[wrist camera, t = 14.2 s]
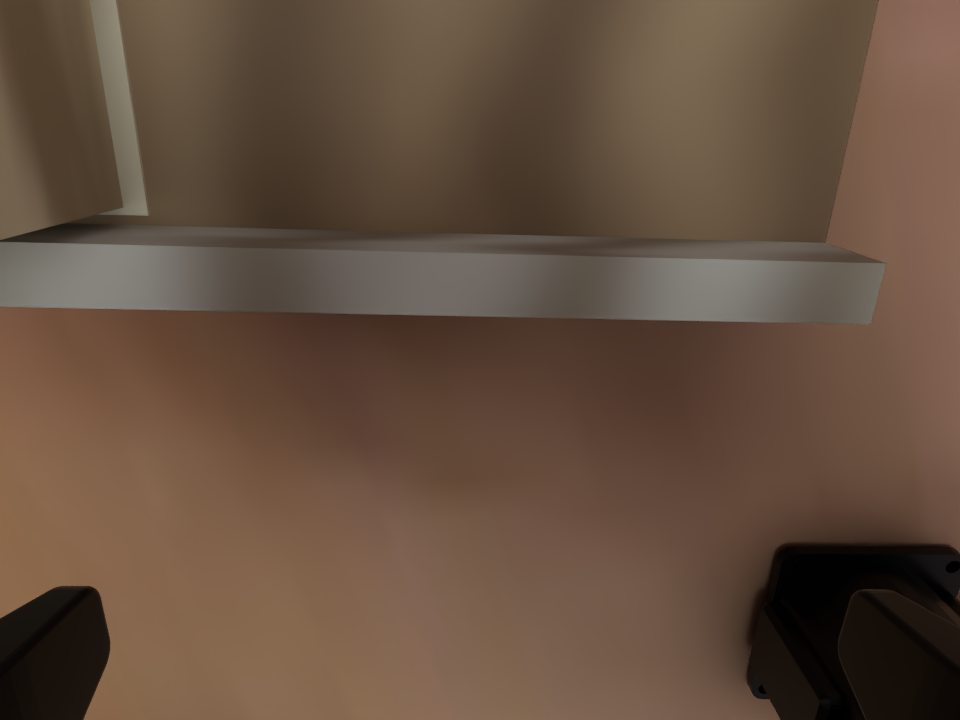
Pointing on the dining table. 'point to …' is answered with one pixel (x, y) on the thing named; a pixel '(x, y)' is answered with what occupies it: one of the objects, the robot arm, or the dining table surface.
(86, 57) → the block
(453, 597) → the dining table surface
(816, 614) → the robot arm
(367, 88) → the walnut board
